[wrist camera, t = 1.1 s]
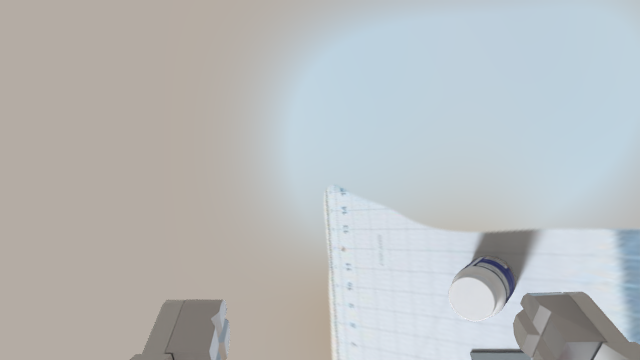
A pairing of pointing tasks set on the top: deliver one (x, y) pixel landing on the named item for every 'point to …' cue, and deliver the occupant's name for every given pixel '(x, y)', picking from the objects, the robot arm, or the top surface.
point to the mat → (499, 356)
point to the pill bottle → (482, 288)
